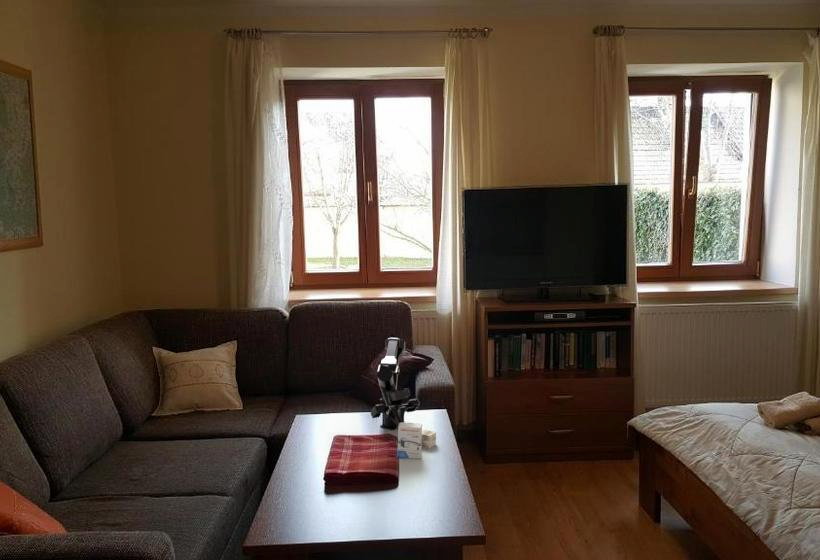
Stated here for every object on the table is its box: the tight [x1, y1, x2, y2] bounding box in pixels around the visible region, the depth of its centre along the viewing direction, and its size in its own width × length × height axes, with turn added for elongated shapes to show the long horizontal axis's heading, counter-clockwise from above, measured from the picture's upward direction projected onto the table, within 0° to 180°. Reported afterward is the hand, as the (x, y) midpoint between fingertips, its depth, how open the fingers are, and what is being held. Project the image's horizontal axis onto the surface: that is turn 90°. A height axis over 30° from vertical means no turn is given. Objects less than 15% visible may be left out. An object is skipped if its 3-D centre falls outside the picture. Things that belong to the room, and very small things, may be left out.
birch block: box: [421, 429, 437, 449], centre depth 241 cm, size 5×5×5 cm
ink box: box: [397, 421, 423, 460], centre depth 230 cm, size 9×5×12 cm, turn 84°
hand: (402, 428), depth 234 cm, fingers closed
